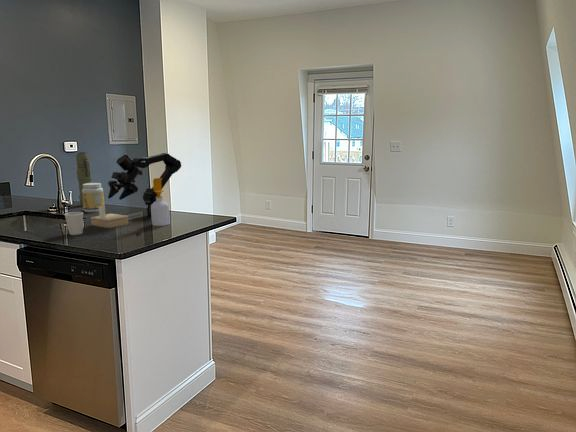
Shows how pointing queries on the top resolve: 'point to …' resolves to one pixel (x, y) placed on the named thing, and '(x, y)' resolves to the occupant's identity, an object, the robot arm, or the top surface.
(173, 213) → the top surface
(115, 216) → the carton lid
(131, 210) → the top surface
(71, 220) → the dixie cup
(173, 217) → the top surface
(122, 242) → the top surface
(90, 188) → the supplement tub
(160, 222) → the soap bottle
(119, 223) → the carton
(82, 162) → the green cactus
